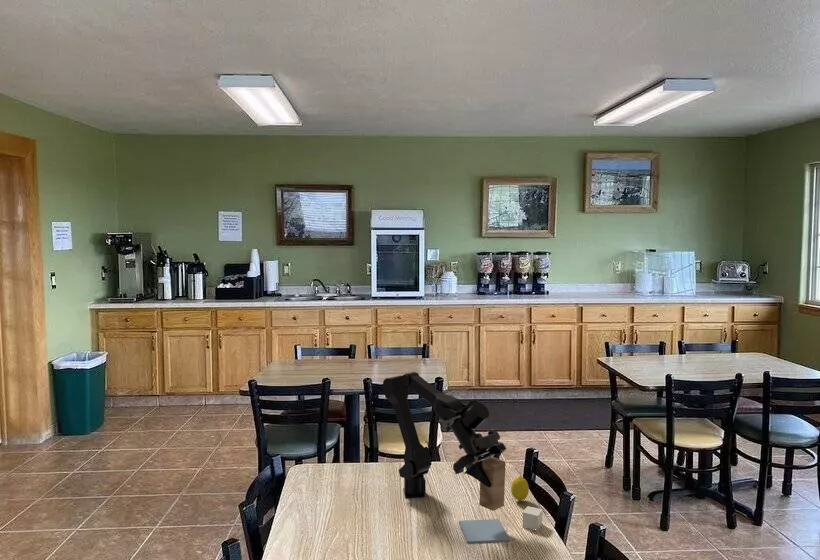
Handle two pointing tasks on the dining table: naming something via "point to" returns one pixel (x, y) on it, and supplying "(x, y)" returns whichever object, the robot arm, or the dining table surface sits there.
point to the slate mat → (483, 531)
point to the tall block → (493, 484)
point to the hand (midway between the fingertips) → (496, 484)
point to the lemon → (519, 488)
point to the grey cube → (532, 518)
